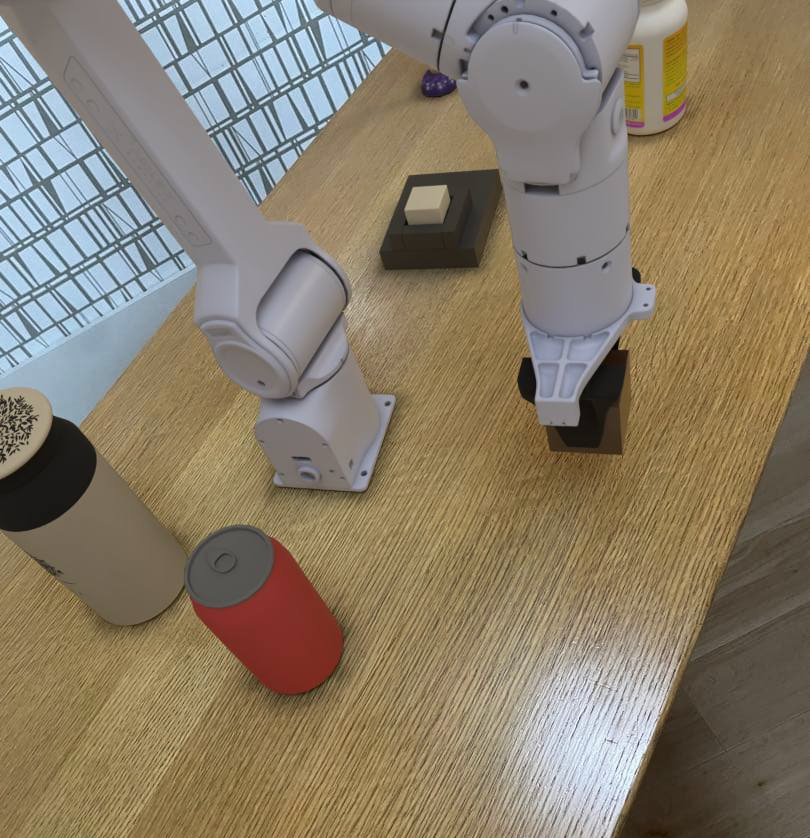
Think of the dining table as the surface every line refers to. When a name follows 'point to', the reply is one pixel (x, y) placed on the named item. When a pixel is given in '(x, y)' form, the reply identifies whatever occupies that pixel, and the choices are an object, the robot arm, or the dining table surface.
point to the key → (427, 205)
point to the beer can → (263, 608)
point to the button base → (444, 223)
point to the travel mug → (81, 515)
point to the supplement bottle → (656, 67)
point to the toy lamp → (436, 83)
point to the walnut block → (614, 417)
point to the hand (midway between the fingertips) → (588, 411)
